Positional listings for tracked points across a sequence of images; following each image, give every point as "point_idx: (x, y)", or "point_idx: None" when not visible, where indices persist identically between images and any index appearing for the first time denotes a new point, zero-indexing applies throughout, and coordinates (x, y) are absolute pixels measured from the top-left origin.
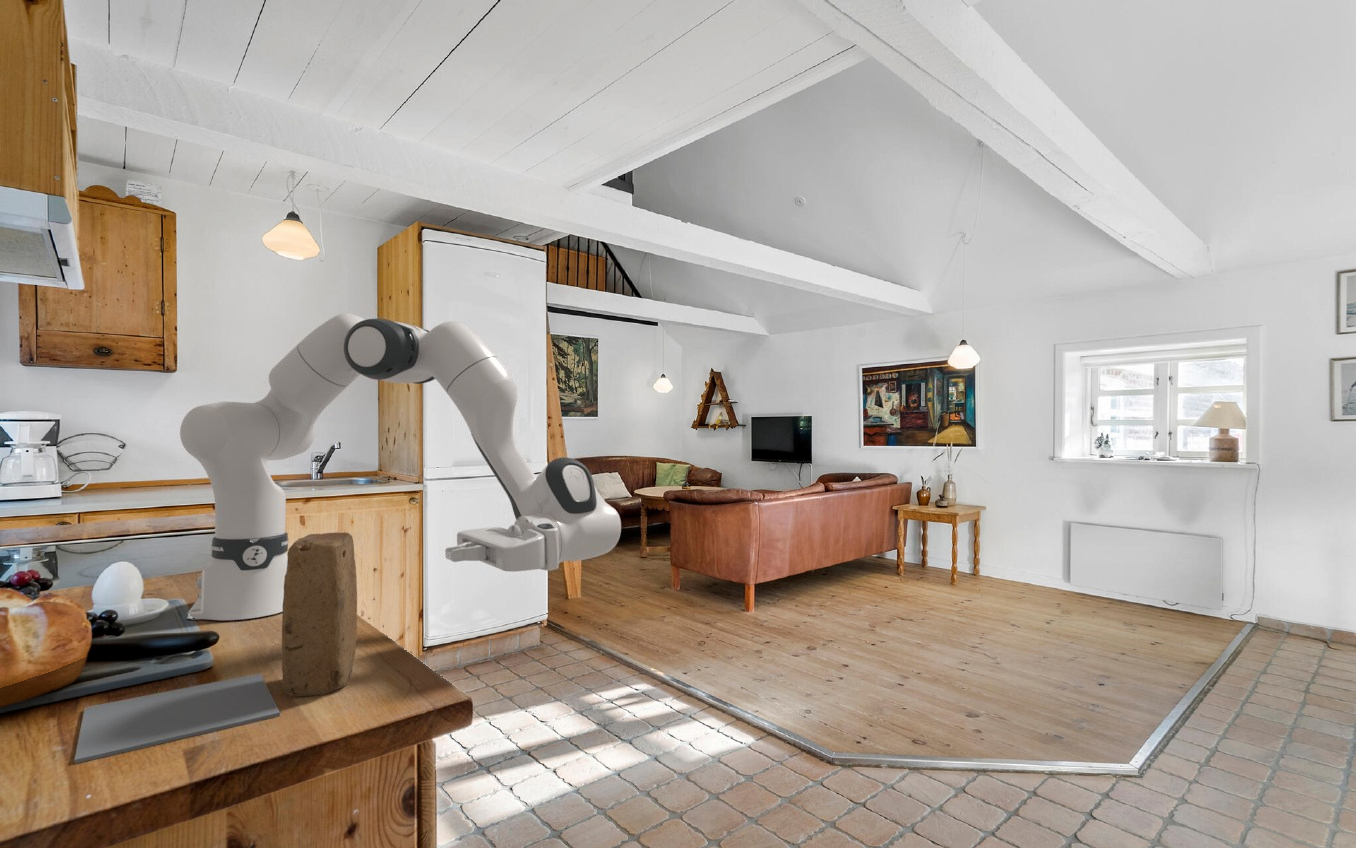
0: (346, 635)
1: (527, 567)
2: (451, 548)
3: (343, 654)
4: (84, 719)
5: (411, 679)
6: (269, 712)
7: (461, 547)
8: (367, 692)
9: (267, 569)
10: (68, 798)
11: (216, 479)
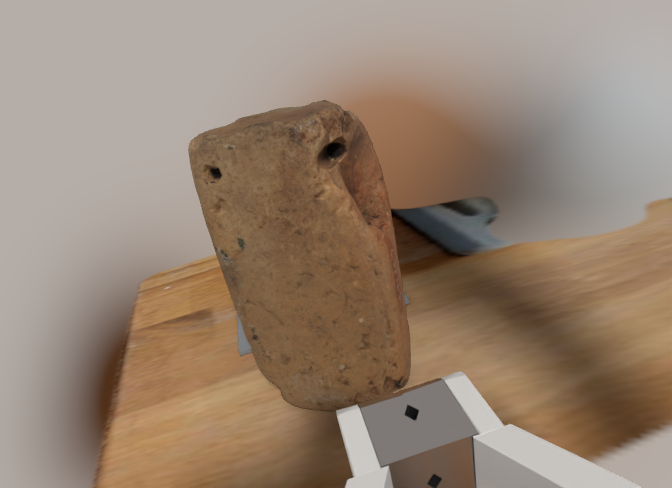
0: (272, 337)
1: None
2: (419, 396)
3: (265, 361)
4: None
5: None
6: (246, 342)
7: (509, 469)
8: (261, 450)
9: None
10: (173, 280)
11: None
